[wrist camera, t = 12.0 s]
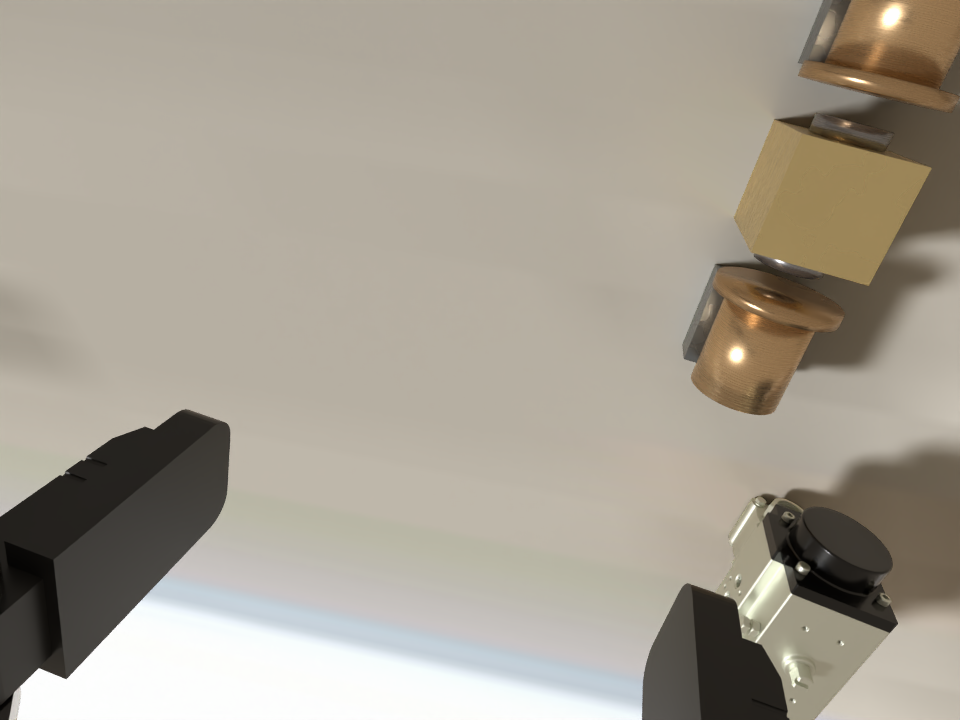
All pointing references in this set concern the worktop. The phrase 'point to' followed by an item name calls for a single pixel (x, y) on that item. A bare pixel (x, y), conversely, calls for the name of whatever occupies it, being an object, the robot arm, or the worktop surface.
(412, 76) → the worktop surface
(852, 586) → the pneumatic valve
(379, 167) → the worktop surface
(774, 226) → the block
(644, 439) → the worktop surface
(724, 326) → the pipe stubs
